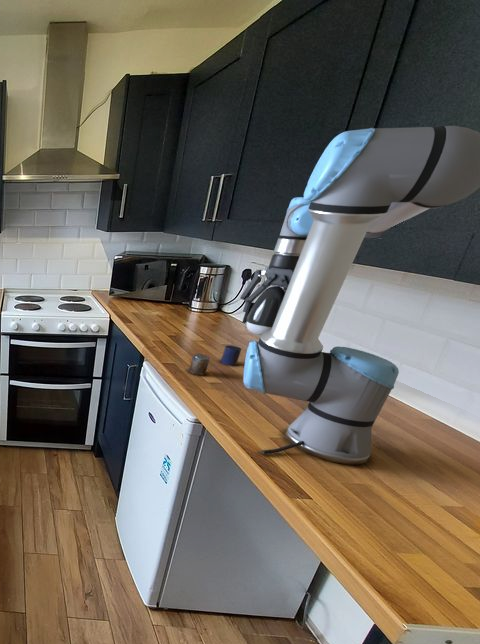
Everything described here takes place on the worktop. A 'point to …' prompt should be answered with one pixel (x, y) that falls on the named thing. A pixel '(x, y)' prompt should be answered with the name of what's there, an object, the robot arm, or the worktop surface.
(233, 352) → the dark blue cylinder
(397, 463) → the worktop surface
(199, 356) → the dark brown cylinder
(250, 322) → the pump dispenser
